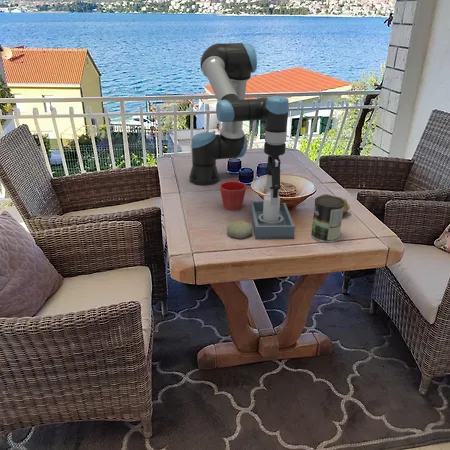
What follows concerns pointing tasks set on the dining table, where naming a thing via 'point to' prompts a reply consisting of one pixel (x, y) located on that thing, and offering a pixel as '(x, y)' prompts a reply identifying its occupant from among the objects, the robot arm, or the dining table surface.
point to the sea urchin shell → (239, 229)
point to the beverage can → (270, 209)
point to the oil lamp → (346, 205)
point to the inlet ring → (265, 223)
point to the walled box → (271, 231)
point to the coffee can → (327, 218)
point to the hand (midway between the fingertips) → (271, 197)
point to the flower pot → (232, 194)
